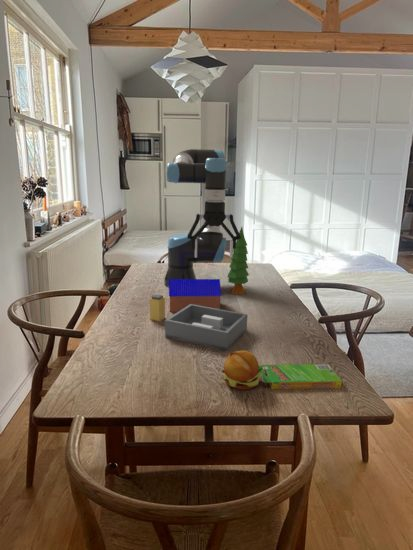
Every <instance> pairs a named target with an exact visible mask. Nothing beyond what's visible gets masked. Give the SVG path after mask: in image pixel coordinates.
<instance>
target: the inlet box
mask: <svg viewBox="0 0 413 550" xmlns="http://www.w3.org/2000/svg"><path fill="white" fill-rule="evenodd" d="M247 328H248V314H247V313H242V312H237V311H233V310H232V311H231V310H227V309H226V310H225V309H221V308H220V309H215V308H210V307H204V306H199V305H193V304H190V305H188V306H187V307H185V308H183V309H182V310H180V311H179V312H175V313H174V314H172V315H171V316H169V317H168V318H165V320H164V337H165V338H168V339H171V340H176V341H180V342H184V343H185V342H186V343H190V344H194V345H198V346H203V347H208V348H212V349H217V350H222V351H229V350H230V349H231V347H232V346H233V345H234V344H235V343H236V342H237V341H238V340H239V339H240V338H241V337H242V336H243V335H244V334H245V333H246V332H247V331H248V329H247Z"/></svg>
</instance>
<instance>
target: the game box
mask: <svg viewBox="0 0 413 550" xmlns="http://www.w3.org/2000/svg"><path fill="white" fill-rule="evenodd" d="M258 365H259V366H261V367H262V368H263V369H262V370H261V375H260V376H261V377H262V380H263V381H264V383H267V384H268V383H269V386H270V388H271V390H282V389H284V390H287V389H288V390H290V389H292V390H293V389H340V388H342V382H343V381H342V380H341V378H340V377H339V376H338V374H337V373H336V372H335V370H334V369H333V368H332V367H331V365H330V364H329V363H327V364H325V363H321V364H318V363H317V364H314V363H313V364H310V363H309V364H258Z"/></svg>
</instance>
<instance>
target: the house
mask: <svg viewBox="0 0 413 550" xmlns="http://www.w3.org/2000/svg"><path fill="white" fill-rule="evenodd" d="M221 296H222V290H221V280H220V278H218V279H217V278H196V279H169V287H168V297H169V313H177V312H179V311H180V310H182V309H183V308H185V307H187V306H188V305H190V304H193V305H199V306H204V307H210V308H215V309H221Z"/></svg>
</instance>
